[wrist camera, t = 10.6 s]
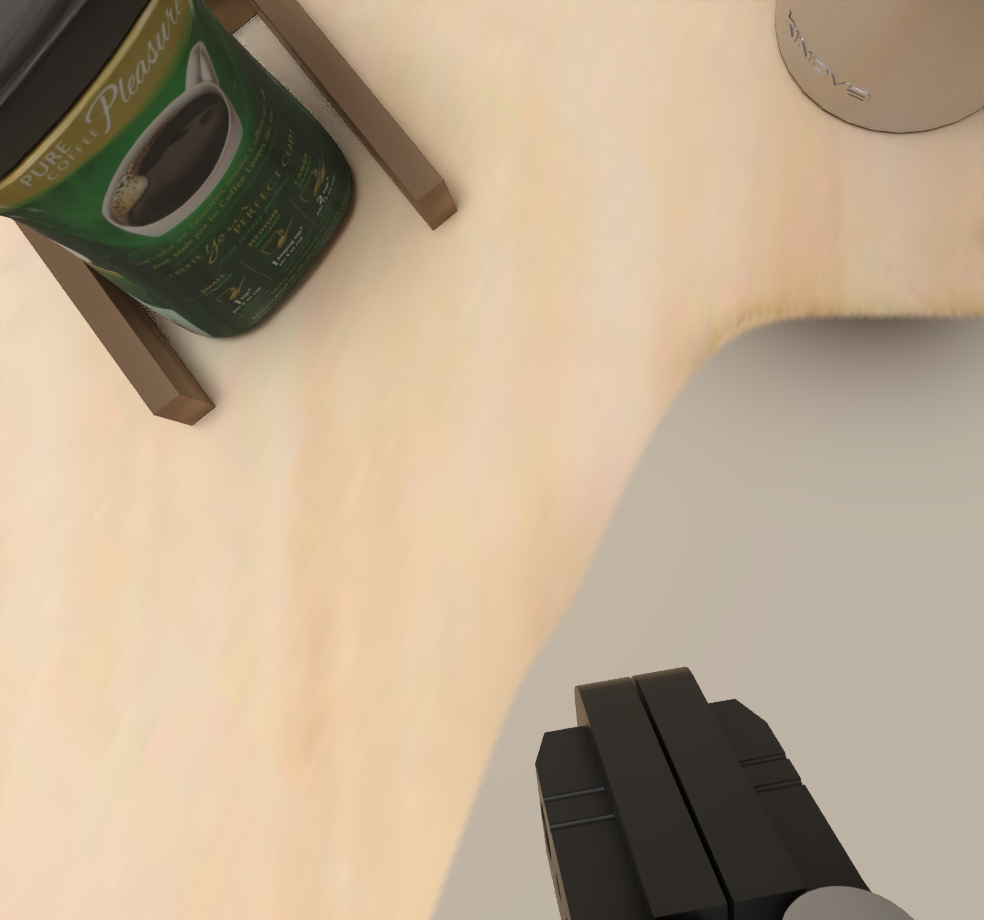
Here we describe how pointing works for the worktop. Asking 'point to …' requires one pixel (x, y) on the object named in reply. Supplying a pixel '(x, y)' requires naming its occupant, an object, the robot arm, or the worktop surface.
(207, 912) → the worktop surface
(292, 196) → the coffee jar
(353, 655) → the worktop surface
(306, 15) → the wooden u-shaped frame
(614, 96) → the worktop surface
